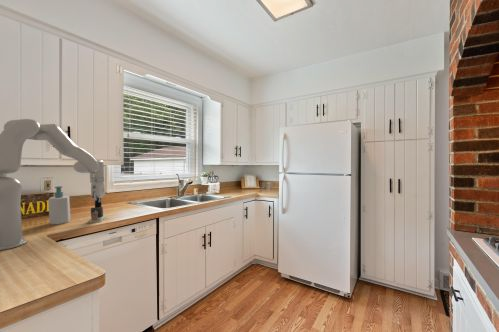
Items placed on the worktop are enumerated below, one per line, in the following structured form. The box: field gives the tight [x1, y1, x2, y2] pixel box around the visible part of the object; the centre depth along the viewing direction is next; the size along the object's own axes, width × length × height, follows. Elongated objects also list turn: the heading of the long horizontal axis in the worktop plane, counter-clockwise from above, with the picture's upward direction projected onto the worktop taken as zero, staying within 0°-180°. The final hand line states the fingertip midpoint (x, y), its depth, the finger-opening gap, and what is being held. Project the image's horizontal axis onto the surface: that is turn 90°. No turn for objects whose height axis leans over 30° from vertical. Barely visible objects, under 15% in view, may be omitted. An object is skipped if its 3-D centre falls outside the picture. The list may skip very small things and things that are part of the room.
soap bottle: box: [47, 185, 71, 225], centre depth 145 cm, size 10×9×22 cm
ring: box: [90, 206, 104, 217], centre depth 150 cm, size 6×2×6 cm, turn 103°
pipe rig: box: [87, 211, 107, 224], centre depth 150 cm, size 7×10×6 cm
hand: (98, 208), depth 152 cm, fingers closed
